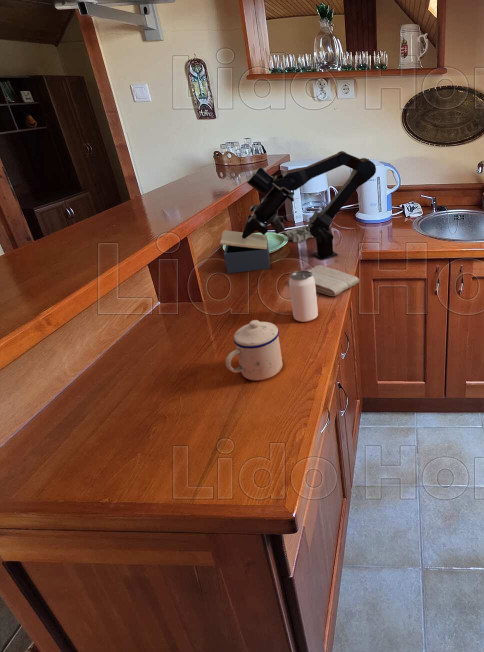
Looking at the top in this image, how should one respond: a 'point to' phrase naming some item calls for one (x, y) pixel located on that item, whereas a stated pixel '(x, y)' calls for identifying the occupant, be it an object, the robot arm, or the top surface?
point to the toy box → (246, 259)
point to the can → (303, 296)
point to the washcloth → (332, 280)
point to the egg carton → (299, 234)
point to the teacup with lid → (257, 351)
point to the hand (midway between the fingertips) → (243, 237)
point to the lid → (244, 240)
